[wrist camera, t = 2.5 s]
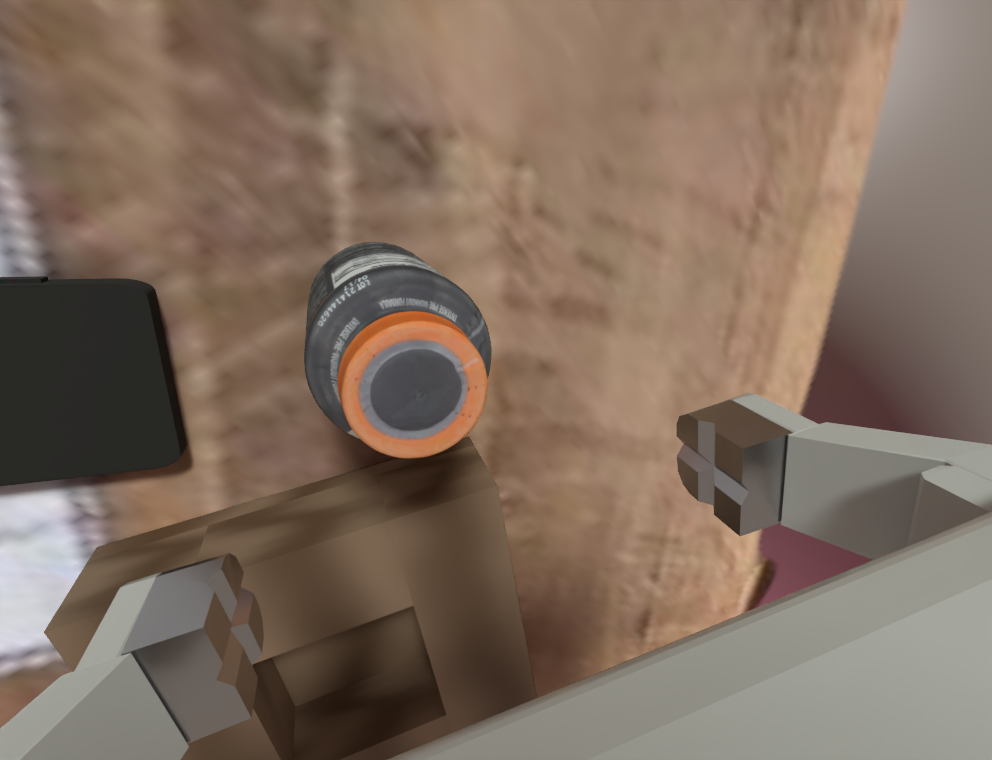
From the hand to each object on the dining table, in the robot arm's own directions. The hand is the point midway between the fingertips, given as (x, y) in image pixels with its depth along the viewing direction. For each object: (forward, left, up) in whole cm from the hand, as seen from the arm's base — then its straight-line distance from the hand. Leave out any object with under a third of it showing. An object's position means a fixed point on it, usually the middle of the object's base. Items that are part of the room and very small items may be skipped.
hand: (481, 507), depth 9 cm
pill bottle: (0, 0, -17) cm, 17 cm away
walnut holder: (-6, -17, -16) cm, 24 cm away
